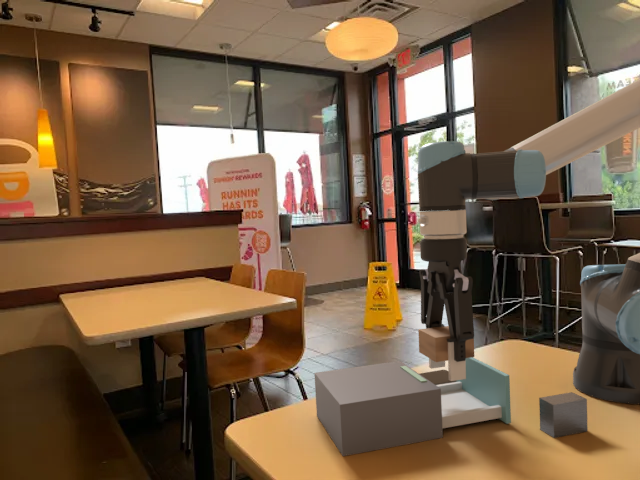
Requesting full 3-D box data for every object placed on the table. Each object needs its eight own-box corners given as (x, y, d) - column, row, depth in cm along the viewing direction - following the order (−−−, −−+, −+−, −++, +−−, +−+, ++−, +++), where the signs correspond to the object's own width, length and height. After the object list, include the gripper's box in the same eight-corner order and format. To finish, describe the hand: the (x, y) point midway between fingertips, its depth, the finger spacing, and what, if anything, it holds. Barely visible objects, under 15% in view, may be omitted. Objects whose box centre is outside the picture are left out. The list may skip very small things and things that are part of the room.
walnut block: (455, 347, 86) (454, 325, 86) (474, 357, 80) (473, 333, 80) (419, 352, 85) (418, 329, 84) (435, 362, 79) (435, 337, 78)
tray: (460, 390, 92) (458, 350, 91) (510, 422, 77) (509, 375, 77) (381, 403, 88) (379, 361, 87) (419, 439, 73) (417, 389, 73)
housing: (401, 401, 89) (399, 359, 88) (442, 437, 74) (440, 387, 74) (316, 415, 85) (314, 371, 84) (342, 456, 70) (339, 403, 70)
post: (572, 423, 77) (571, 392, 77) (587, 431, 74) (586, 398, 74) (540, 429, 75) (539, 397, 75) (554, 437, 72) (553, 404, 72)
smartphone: (374, 380, 99) (445, 368, 103) (374, 385, 100) (445, 373, 103) (388, 392, 92) (463, 379, 96) (388, 398, 92) (463, 385, 96)
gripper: (398, 235, 90) (402, 359, 91) (452, 240, 71) (456, 395, 73) (435, 233, 91) (439, 354, 93) (497, 237, 73) (500, 389, 74)
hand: (446, 372), depth 83 cm, fingers closed on walnut block, 6 cm apart
